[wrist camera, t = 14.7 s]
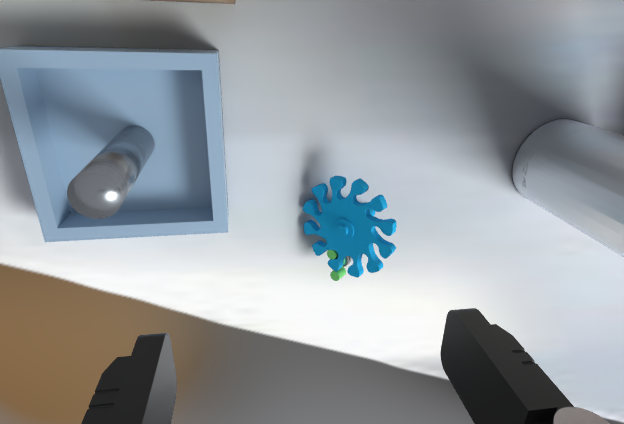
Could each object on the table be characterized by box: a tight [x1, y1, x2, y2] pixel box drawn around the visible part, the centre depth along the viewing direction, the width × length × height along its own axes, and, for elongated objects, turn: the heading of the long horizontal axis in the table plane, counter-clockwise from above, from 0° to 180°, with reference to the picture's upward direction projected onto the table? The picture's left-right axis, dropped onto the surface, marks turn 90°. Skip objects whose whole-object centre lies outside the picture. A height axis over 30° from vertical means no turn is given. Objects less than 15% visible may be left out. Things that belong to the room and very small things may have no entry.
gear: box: [303, 176, 396, 281], centre depth 41 cm, size 11×6×10 cm
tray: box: [0, 46, 228, 242], centre depth 34 cm, size 15×15×4 cm
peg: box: [67, 125, 155, 219], centre depth 30 cm, size 3×3×12 cm
